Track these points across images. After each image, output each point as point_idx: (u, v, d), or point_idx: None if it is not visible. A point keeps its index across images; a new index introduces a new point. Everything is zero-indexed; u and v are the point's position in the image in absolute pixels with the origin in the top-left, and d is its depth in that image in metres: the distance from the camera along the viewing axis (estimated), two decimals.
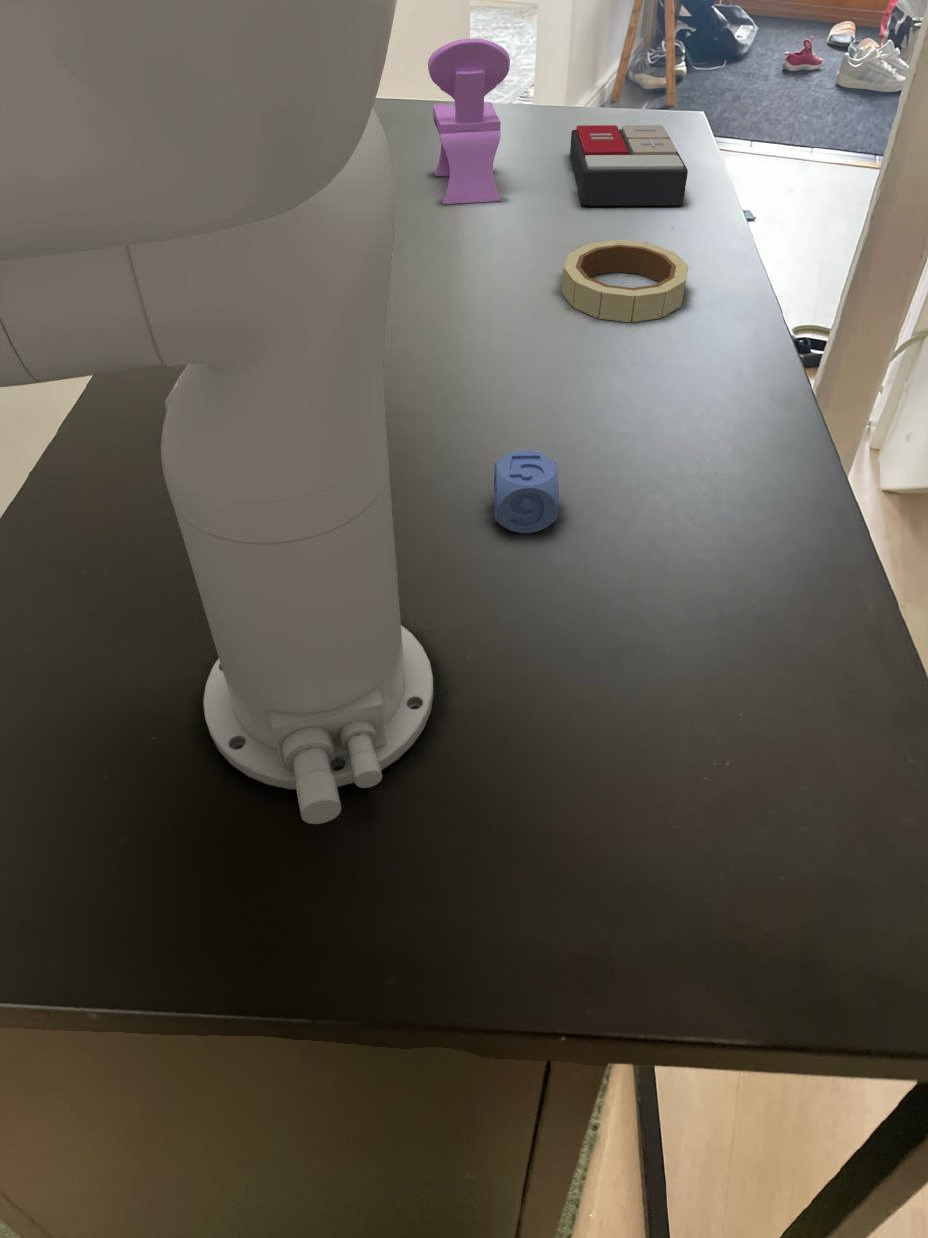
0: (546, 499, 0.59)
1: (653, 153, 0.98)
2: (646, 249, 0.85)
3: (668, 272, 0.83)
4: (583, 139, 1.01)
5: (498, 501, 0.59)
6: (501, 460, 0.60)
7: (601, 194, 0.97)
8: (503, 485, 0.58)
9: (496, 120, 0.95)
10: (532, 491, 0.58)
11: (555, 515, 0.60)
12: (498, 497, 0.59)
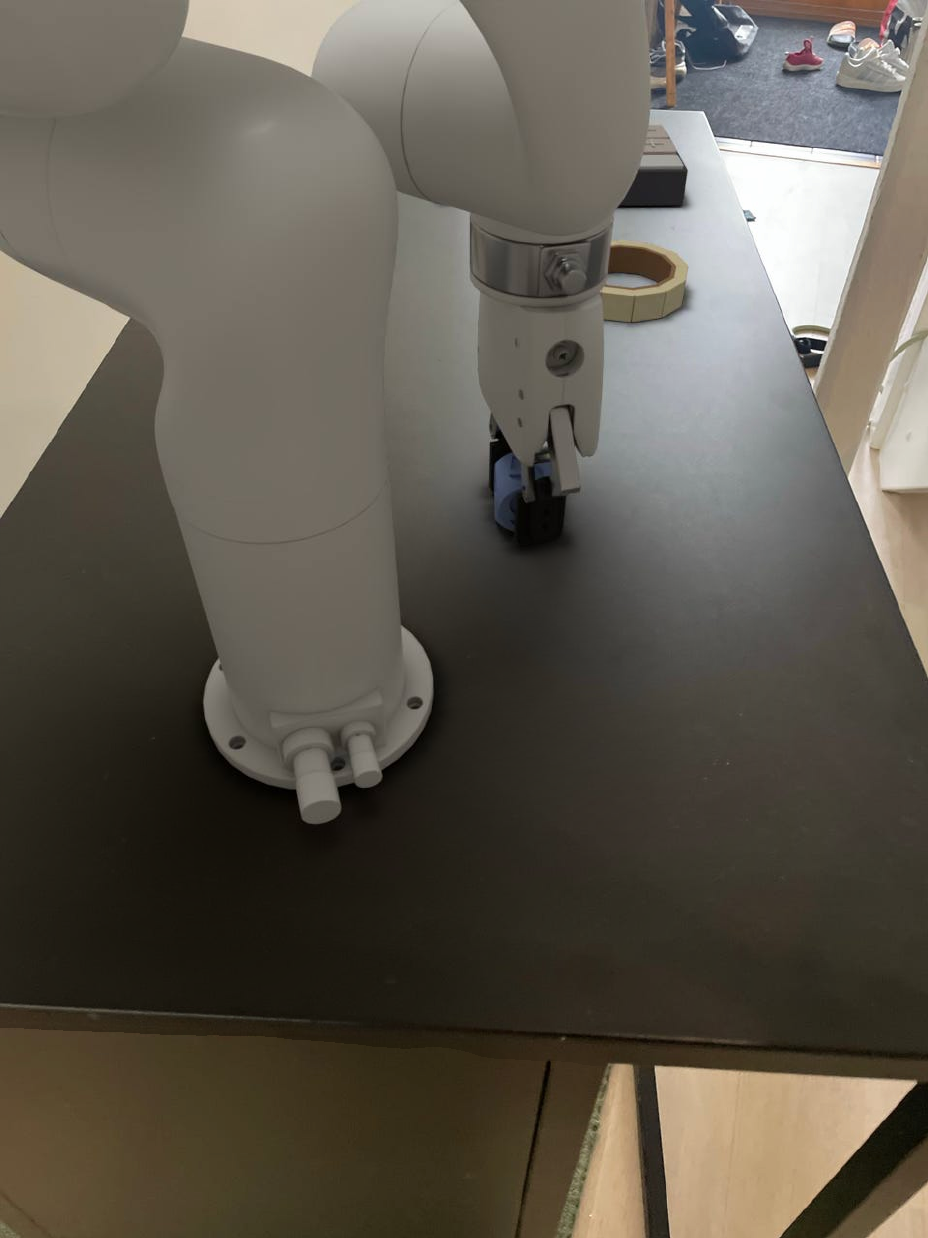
0: None
1: (653, 153, 0.98)
2: (646, 249, 0.85)
3: (668, 272, 0.83)
4: None
5: (498, 501, 0.59)
6: (501, 460, 0.60)
7: None
8: (503, 485, 0.58)
9: None
10: None
11: None
12: (498, 497, 0.59)
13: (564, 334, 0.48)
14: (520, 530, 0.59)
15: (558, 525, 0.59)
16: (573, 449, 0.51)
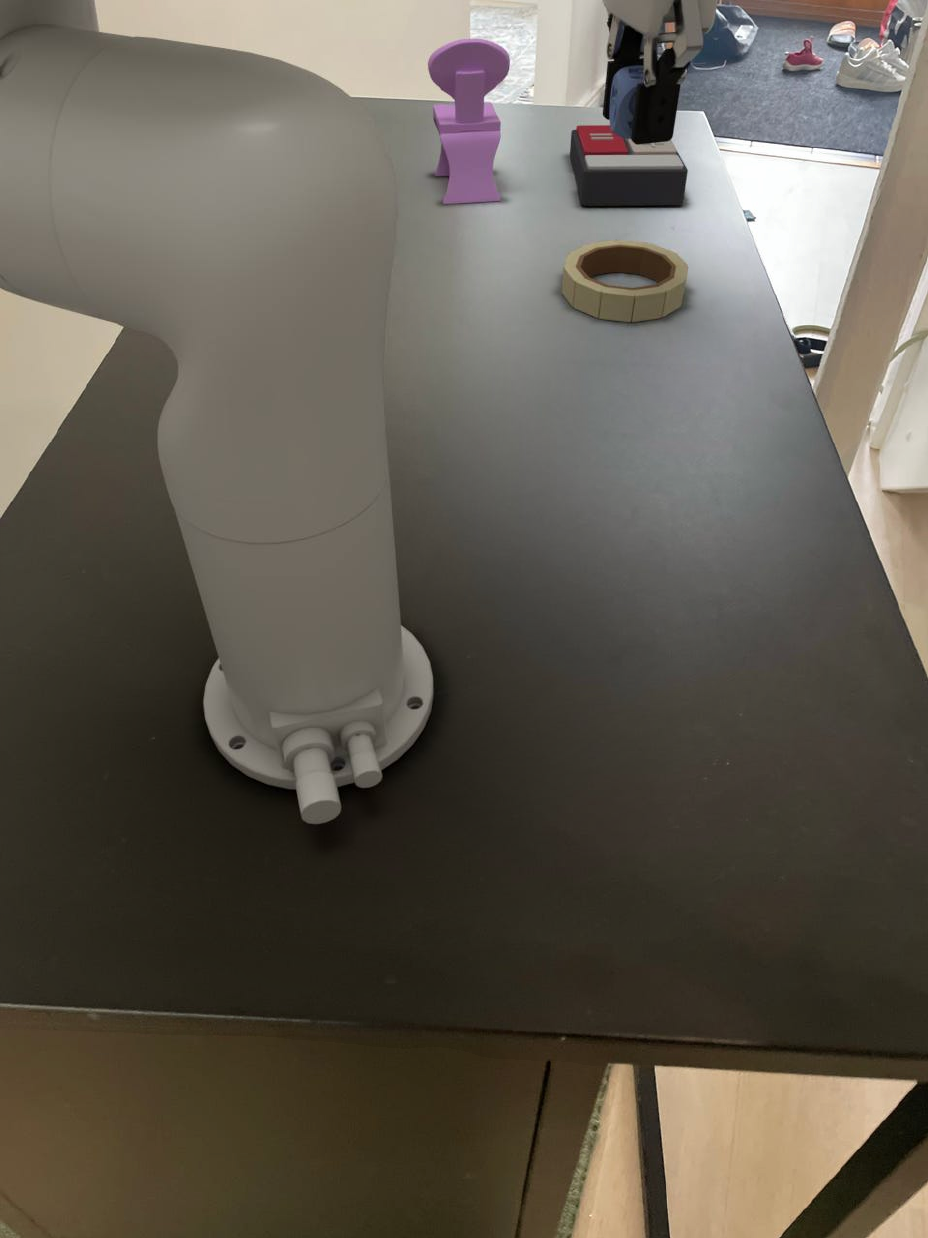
0: None
1: (653, 153, 0.98)
2: (646, 249, 0.85)
3: (668, 272, 0.83)
4: (583, 139, 1.01)
5: (619, 100, 0.67)
6: (620, 69, 0.68)
7: (601, 194, 0.97)
8: (624, 83, 0.67)
9: (496, 120, 0.95)
10: None
11: None
12: (619, 96, 0.67)
13: None
14: (638, 125, 0.67)
15: (670, 125, 0.68)
16: (697, 7, 0.60)
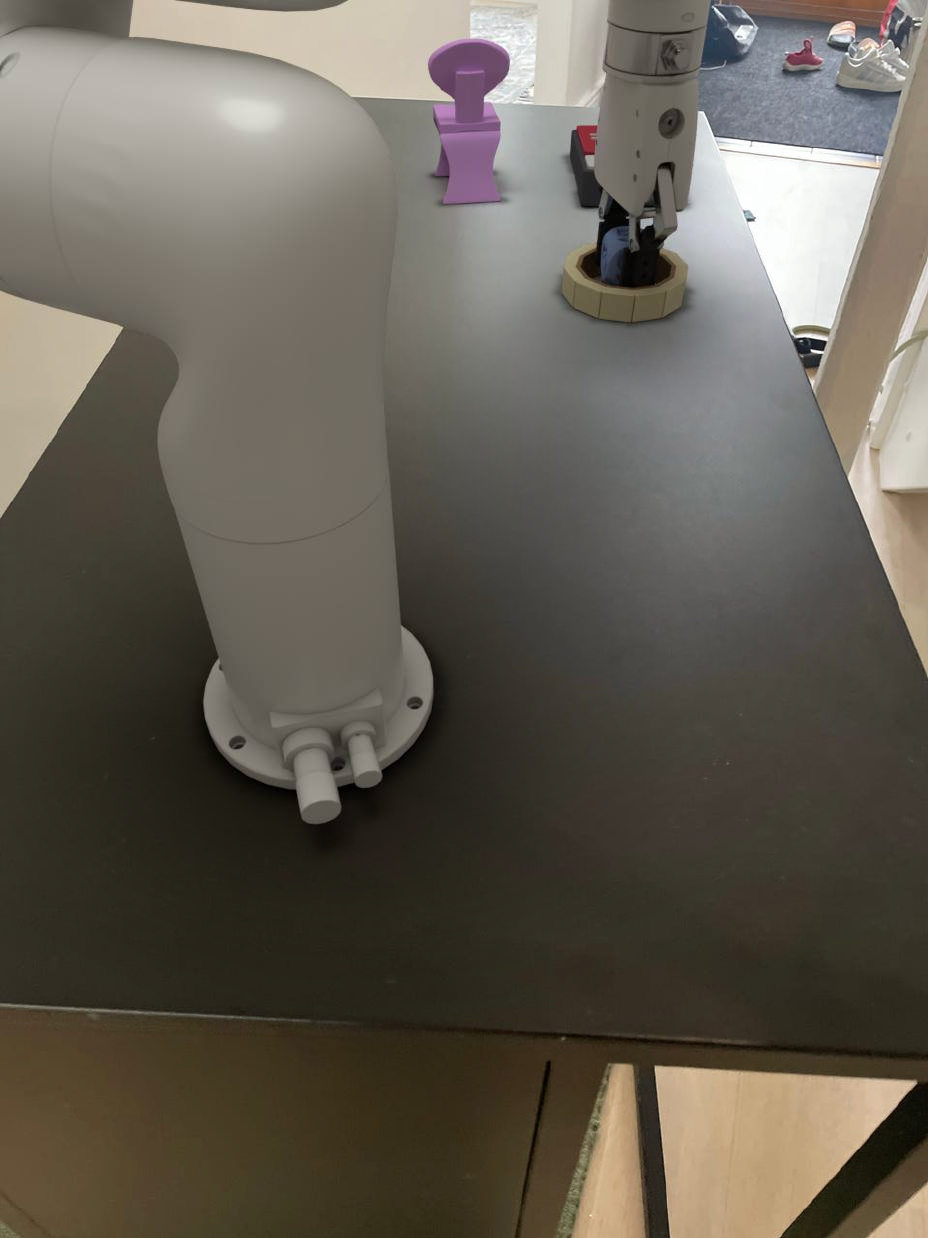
0: None
1: None
2: None
3: (668, 272, 0.83)
4: (583, 139, 1.01)
5: (609, 258, 0.80)
6: (610, 231, 0.81)
7: None
8: (613, 245, 0.79)
9: (496, 120, 0.95)
10: None
11: None
12: (609, 255, 0.80)
13: (672, 103, 0.69)
14: (624, 280, 0.80)
15: (651, 278, 0.80)
16: (673, 197, 0.73)
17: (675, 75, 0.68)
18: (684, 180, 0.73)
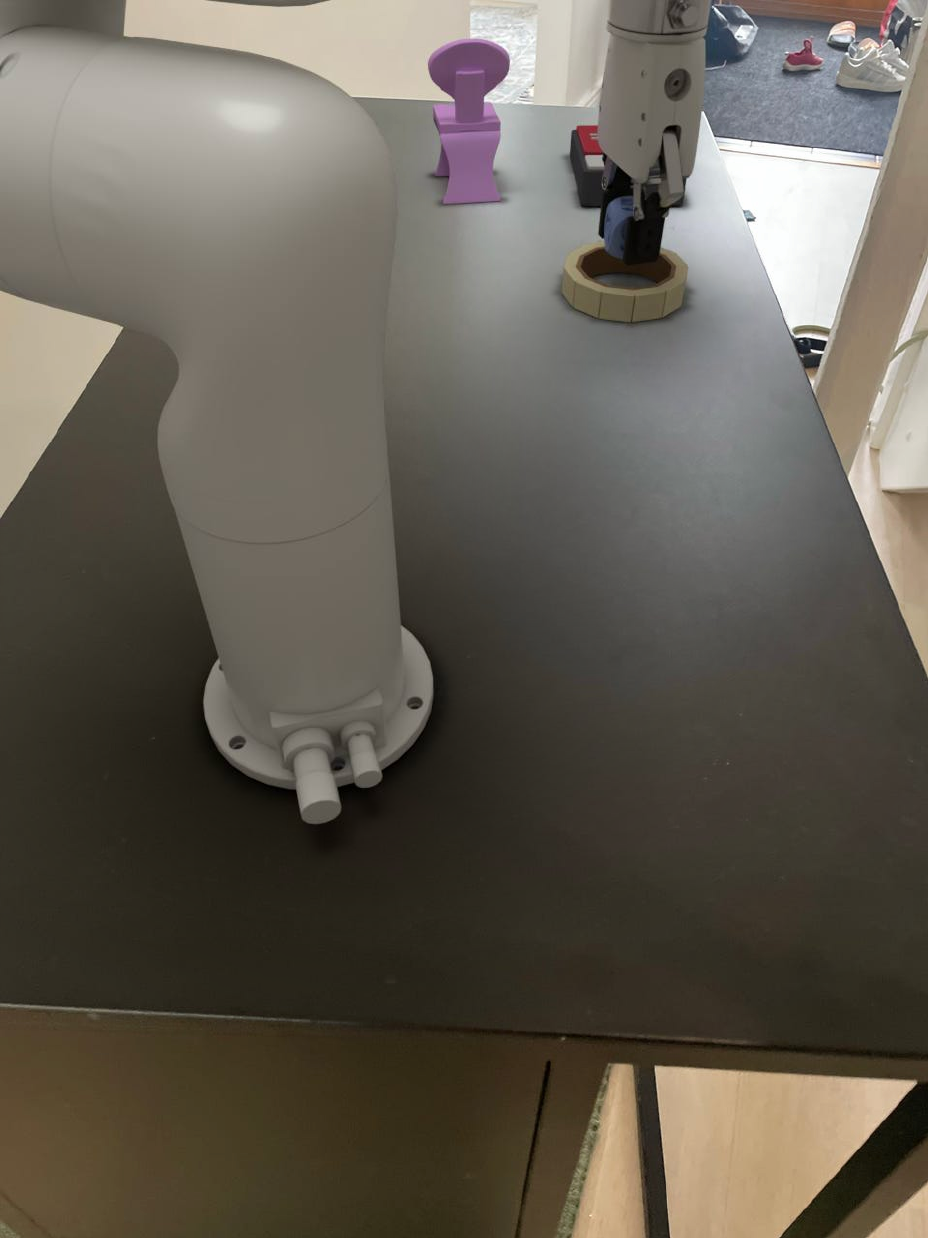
0: None
1: None
2: None
3: (668, 272, 0.83)
4: (583, 139, 1.01)
5: (612, 228, 0.78)
6: (613, 200, 0.79)
7: (601, 194, 0.97)
8: (617, 214, 0.77)
9: (496, 120, 0.95)
10: None
11: None
12: (612, 225, 0.78)
13: (679, 63, 0.67)
14: (628, 250, 0.78)
15: (656, 249, 0.78)
16: (678, 162, 0.71)
17: (681, 34, 0.66)
18: (690, 144, 0.71)
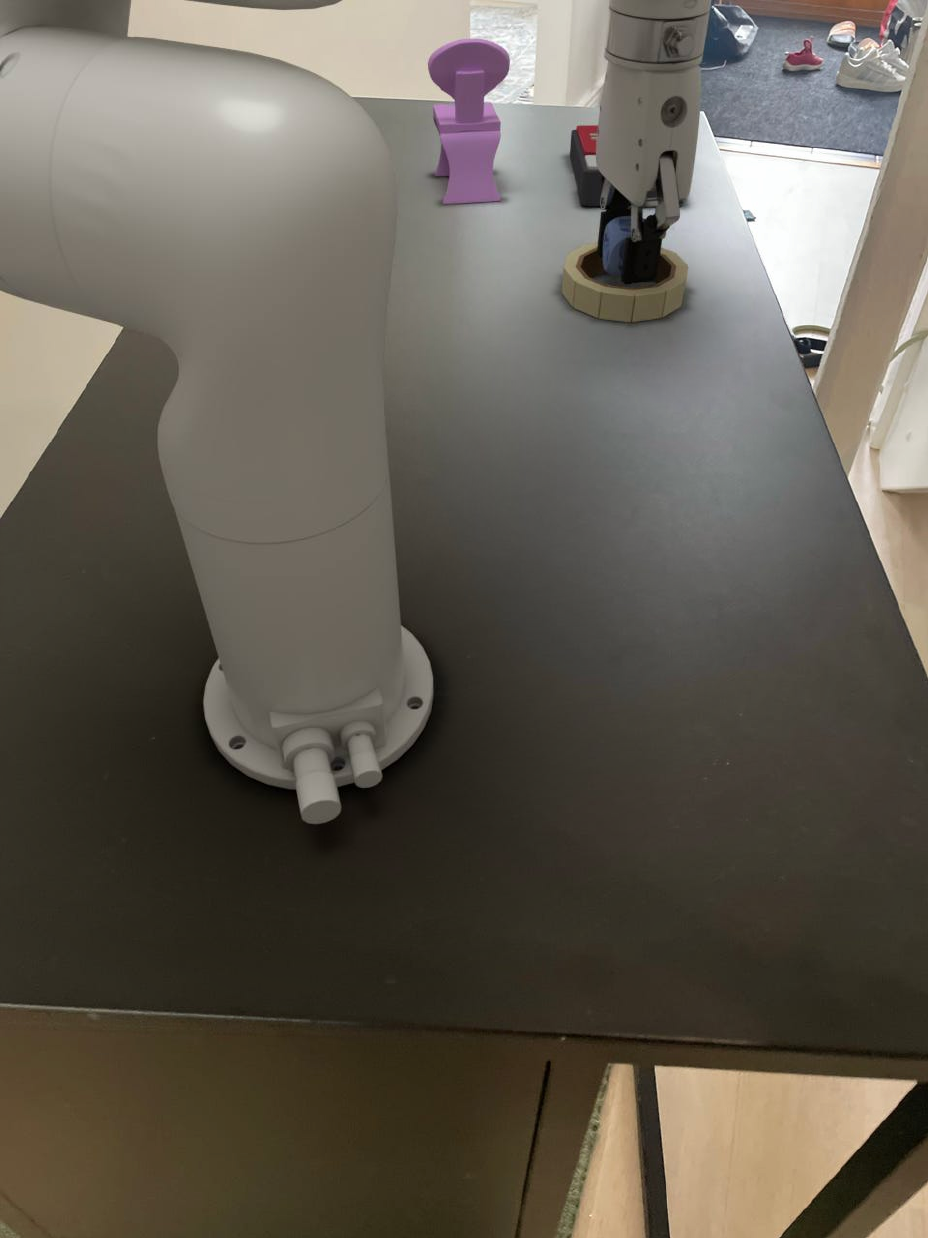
0: None
1: None
2: None
3: (668, 272, 0.83)
4: (583, 139, 1.01)
5: (611, 248, 0.79)
6: (612, 221, 0.80)
7: None
8: (615, 235, 0.79)
9: (496, 120, 0.95)
10: None
11: None
12: (611, 245, 0.79)
13: (675, 91, 0.68)
14: (626, 270, 0.79)
15: (654, 269, 0.80)
16: (675, 186, 0.72)
17: (677, 62, 0.68)
18: (687, 169, 0.72)
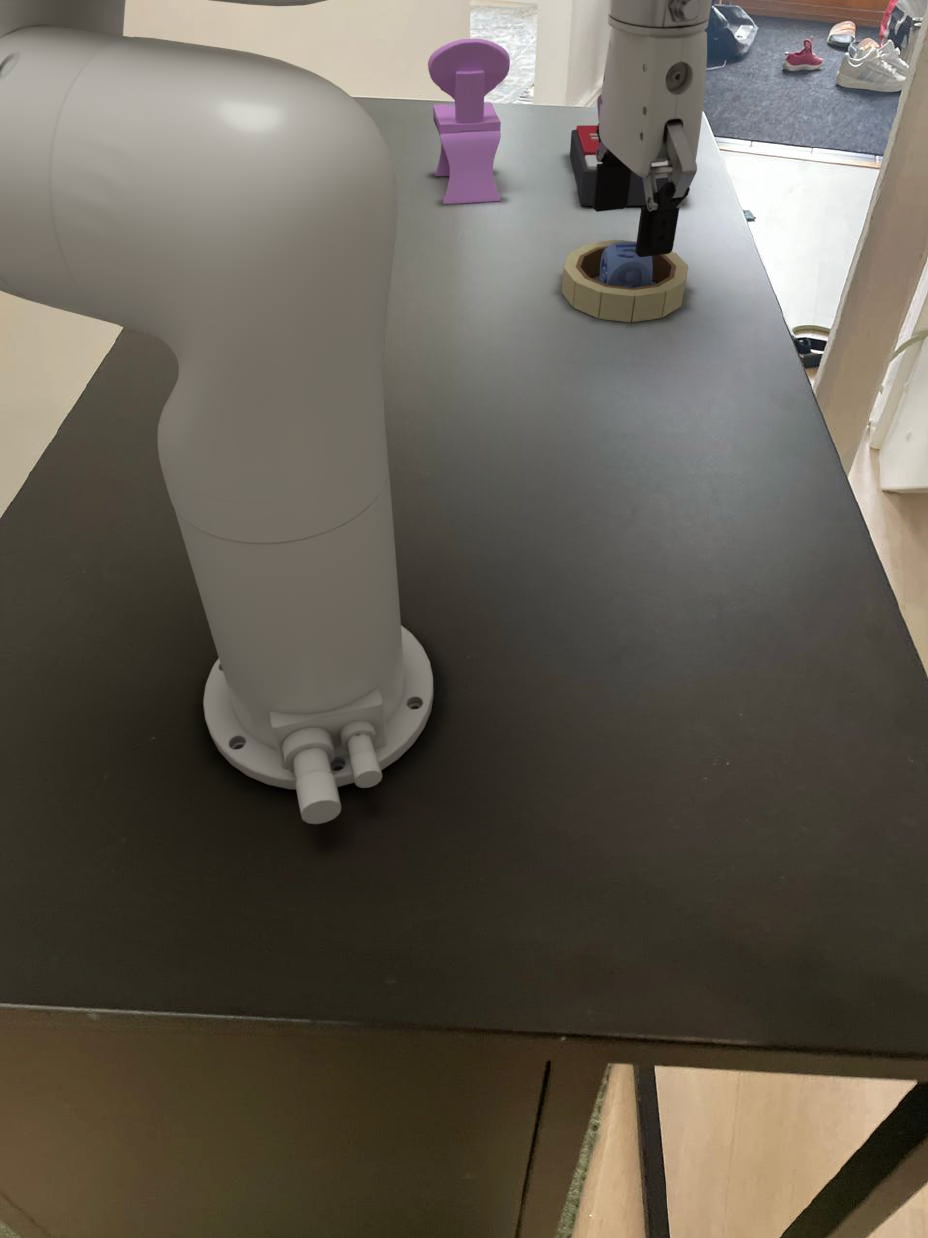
0: (644, 271, 0.81)
1: None
2: None
3: (668, 272, 0.83)
4: (583, 139, 1.01)
5: (609, 274, 0.81)
6: (608, 247, 0.82)
7: None
8: (613, 261, 0.80)
9: (496, 120, 0.95)
10: (634, 264, 0.80)
11: None
12: (609, 271, 0.81)
13: (680, 56, 0.67)
14: (641, 242, 0.76)
15: (670, 240, 0.76)
16: (687, 142, 0.69)
17: (683, 27, 0.66)
18: (692, 138, 0.71)
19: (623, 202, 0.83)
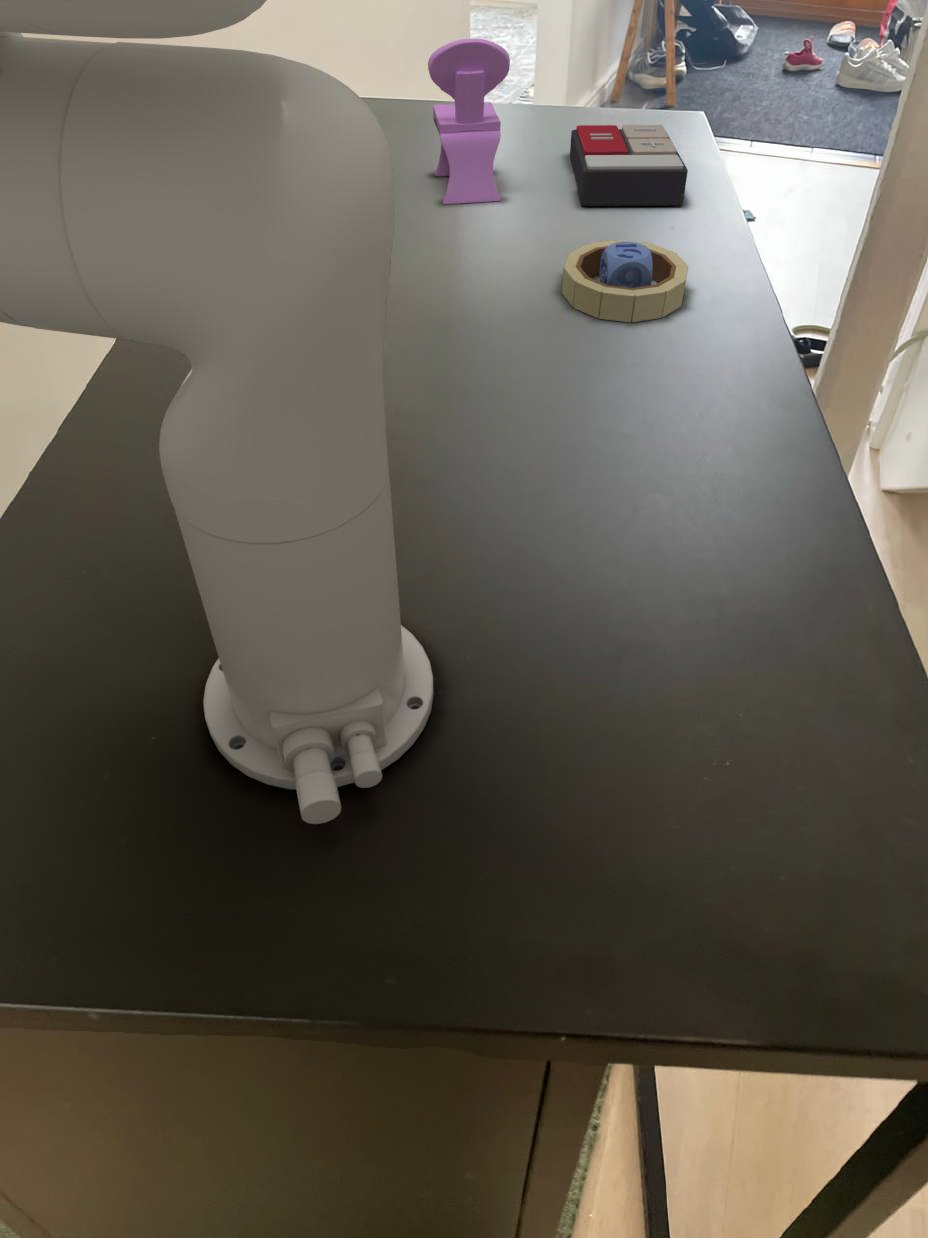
0: (644, 271, 0.81)
1: (653, 153, 0.98)
2: None
3: (668, 272, 0.83)
4: (583, 139, 1.01)
5: (609, 274, 0.81)
6: (608, 247, 0.82)
7: (600, 194, 0.97)
8: (613, 261, 0.80)
9: (496, 120, 0.95)
10: (634, 264, 0.80)
11: None
12: (609, 271, 0.81)
13: None
14: None
15: None
16: None
17: None
18: None
19: None
